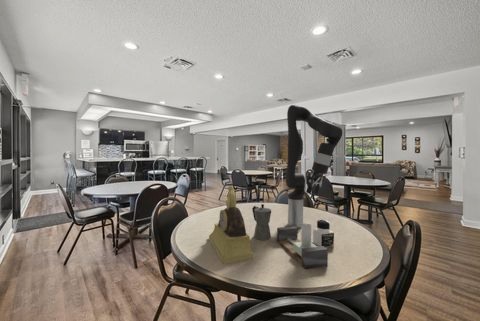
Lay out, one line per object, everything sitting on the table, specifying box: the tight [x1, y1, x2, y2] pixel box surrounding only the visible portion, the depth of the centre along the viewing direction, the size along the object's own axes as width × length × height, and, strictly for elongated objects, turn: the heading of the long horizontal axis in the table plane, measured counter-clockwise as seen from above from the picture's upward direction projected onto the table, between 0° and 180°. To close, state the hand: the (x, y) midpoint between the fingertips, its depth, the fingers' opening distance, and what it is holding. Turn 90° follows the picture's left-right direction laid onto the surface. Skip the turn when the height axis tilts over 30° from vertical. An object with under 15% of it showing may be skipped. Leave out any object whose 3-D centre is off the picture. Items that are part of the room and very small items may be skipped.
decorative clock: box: [208, 185, 253, 265], centre depth 103 cm, size 28×13×30 cm, turn 21°
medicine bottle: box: [312, 219, 335, 248], centre depth 107 cm, size 7×7×12 cm
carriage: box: [293, 223, 318, 256], centre depth 93 cm, size 8×8×12 cm
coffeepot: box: [251, 203, 272, 241], centre depth 118 cm, size 15×9×18 cm, turn 33°
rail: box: [276, 226, 329, 270], centre depth 99 cm, size 28×10×7 cm, turn 13°
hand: (312, 193), depth 110 cm, fingers open, 8 cm apart
